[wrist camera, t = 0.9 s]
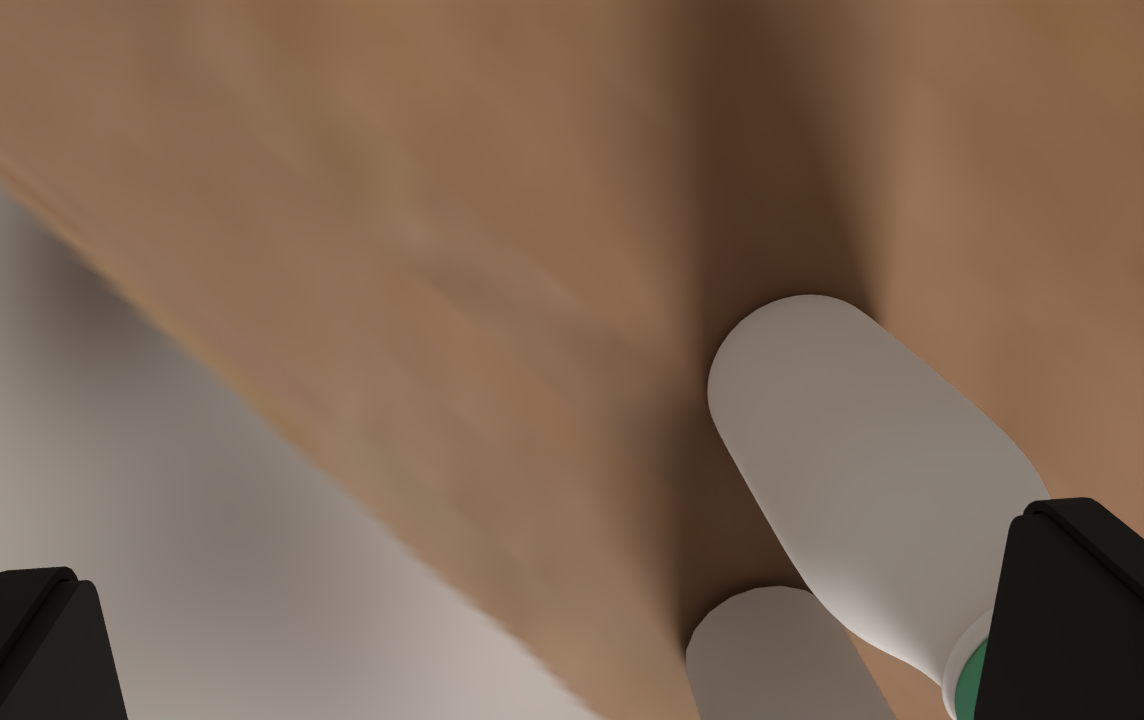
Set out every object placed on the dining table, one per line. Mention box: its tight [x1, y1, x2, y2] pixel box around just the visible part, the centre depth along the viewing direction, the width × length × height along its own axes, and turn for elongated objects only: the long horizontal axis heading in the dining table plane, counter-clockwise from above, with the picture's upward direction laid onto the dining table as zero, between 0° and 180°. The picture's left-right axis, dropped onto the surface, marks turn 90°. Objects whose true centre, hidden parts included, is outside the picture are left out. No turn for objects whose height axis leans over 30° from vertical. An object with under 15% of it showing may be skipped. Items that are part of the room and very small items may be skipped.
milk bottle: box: [707, 295, 1050, 720], centre depth 30 cm, size 8×8×20 cm
